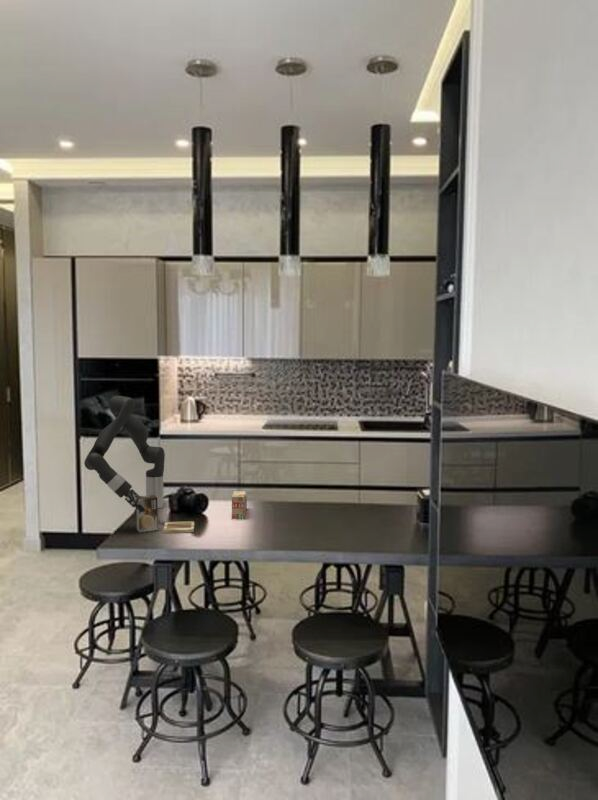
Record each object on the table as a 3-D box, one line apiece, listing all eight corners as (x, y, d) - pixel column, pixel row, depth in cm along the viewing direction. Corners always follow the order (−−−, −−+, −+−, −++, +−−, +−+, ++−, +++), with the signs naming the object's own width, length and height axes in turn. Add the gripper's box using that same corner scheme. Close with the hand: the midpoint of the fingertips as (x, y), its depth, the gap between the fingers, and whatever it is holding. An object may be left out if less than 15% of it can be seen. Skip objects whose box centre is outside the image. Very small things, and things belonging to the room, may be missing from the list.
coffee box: (155, 527, 298) (155, 494, 297) (158, 530, 292) (158, 497, 291) (136, 529, 294) (136, 496, 293) (138, 532, 288) (138, 499, 287)
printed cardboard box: (235, 509, 334) (235, 486, 333) (246, 509, 334) (247, 487, 333) (231, 520, 313) (231, 496, 312) (243, 520, 313) (244, 496, 312)
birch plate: (165, 525, 301) (165, 522, 301) (194, 524, 303) (194, 521, 303) (163, 533, 288) (163, 530, 287) (193, 532, 290) (193, 529, 290)
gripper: (122, 483, 283) (148, 506, 285) (127, 476, 297) (151, 499, 299) (111, 494, 282) (136, 518, 285) (115, 487, 296) (140, 510, 299)
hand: (144, 508), depth 292 cm, fingers open, 8 cm apart
